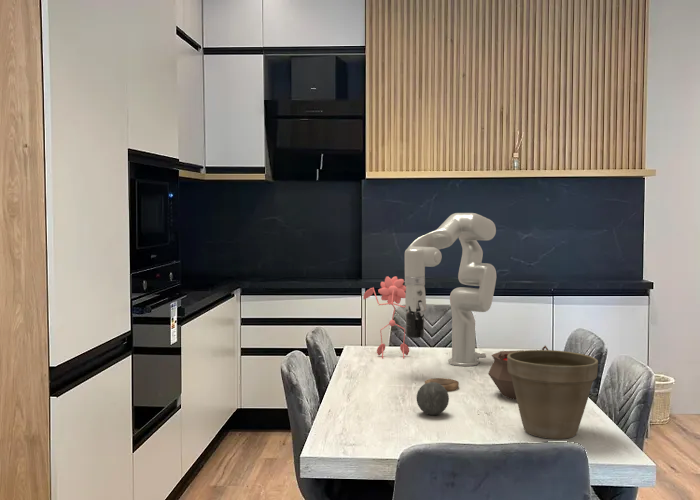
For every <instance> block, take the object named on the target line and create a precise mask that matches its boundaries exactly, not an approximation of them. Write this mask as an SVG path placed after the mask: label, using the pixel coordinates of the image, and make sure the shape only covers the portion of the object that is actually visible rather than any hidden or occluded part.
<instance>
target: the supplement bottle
mask: <svg viewBox="0 0 700 500" xmlns="http://www.w3.org/2000/svg"><path fill="white" fill-rule="evenodd" d="M408 310H409V312H407V311H406V314H405V337H406V338H409V339H411V338H412V339H419V338H421V339H422V338H423V337H424V336H425V315H424V316H423V330H415V313H414V312H412V311H411V309H410V306H409V308H408ZM417 311H420V310H417ZM417 316H418V313H417Z"/></svg>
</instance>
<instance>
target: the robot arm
mask: <svg viewBox="0 0 700 500" xmlns="http://www.w3.org/2000/svg"><path fill="white" fill-rule="evenodd" d="M496 233H497V228H496V224H495V222H493V220H491V219H490V218H487V217H485V216H483V215H481V214H478V213H474V212H455V213H452V214H450V215H449V216H448V217H447V218H446V219H445V220H444V221H443V222H442V223H441V224H440V226H439V227H438V228H436V229H435V230H432V231H430V232H428V233H426V234H424V235H421V236H419V237H417V238H416V239H415V240H414V241H412V243H411V244H410V245H408V247H407V248H406V249H404V250H405V251H404V286H405V287H406V291H405V293H406V295H405V298H404V301H405V303H404V304H405V305H406V307H405V309H406V313H407V312H409V310H408V308H409V306H410V309H411V311H412V312H414V313H415V330H423V316H424V317H425V313H426V311H427V298H426V288H425V285H426V277H425V274H426V267H431V268H433V267H436V266H438V265H439V264H440V263H441V261H442V255H443V254H442V252H441V251H440V250H443V249H446V248H449V247H451V246H453V244H454V243H455V242H456V241H457V240H459V242H460V244H461V245H460V246H461V248H462V249H461V250H462V253H461V259H460V265H459V269H458V274H457V277H458V281H459V283H460V284H462V285H466V287H459V286H458V287H456V288H454V289H452V291H451V292H450V295H449V303H450V309H451V358H449V359H448V360H447V363H448V364H450V365H453V366H459V367H470V366H477V365H479V363H480V360H479V359H485V358H487V354H486V353H480V352H476V319H475V316H474V315H473V313H472V312H474V313H475V312H476V313H477V312H478V313H486V312H488V311H489V310H490V309H491V308H492V303H493V299H494V293H495V288H496V283H497V271H496V268H495V266H494V265H493V264H492V263H486V262H485V263H484V262H482V261H483V254H484V251H483V249H482V246H481V245H480V244H479V242H478V241H491V240H493V239H494V237H495V236H496ZM467 286H472V287H467ZM473 286H475V288H473ZM476 287H479V288H476ZM405 305H404V306H405ZM417 310H420V311H417ZM417 313H418V316H417Z"/></svg>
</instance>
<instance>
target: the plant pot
mask: <svg viewBox="0 0 700 500" xmlns="http://www.w3.org/2000/svg"><path fill="white" fill-rule="evenodd" d="M516 351H517V352H512V353H509V354H508V355H507V366H508V373H509V374H511V377H512V382H513V386H514V390H515V395H516V399H517V400H516V403H517V406H518V411H519V414H520V415H519V416H520V419H521V423H522V427H523V429H524V431H525V432H526V433H527V434H529V435H531V436H535V437H538V438H543V439H551V440H552V439H553V440H564V439H565V440H566V439H571V438H573V437H575V436H577V433H578V431H579V427H580V425H581V421H582V419H583V416H584V413H585V410H586V406H587V404H588V399H589V396H590V393H591V389H592V387H593V383H594V381H595V380H596V379H597V377H598V368H599V360H598V359H597V358H595V357H593V356H590V355H587V354H584V353H578V352H573V351H564V350H554V349H551V350H550V349H548V350H546V349H544V350H542V349H529V350H526V349H525V351H518V350H516Z"/></svg>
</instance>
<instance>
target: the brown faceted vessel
mask: <svg viewBox="0 0 700 500" xmlns="http://www.w3.org/2000/svg"><path fill="white" fill-rule="evenodd" d="M525 350H526V349H525ZM525 350H524V349H522V350H500V351H498V352H496V353H494V354H491V357H492V358H493V359H494V360H493V362H492V364H491V366H490V369H489V370H488V373H487V374H488V376H489V377H490V379H491V380H492V381H493V383H494V385H495V386H496V388H497V389H498V391H499V392H500V394H501V395H502V396H503V397H505V398H506V399H509V400H514V401H515V400H516V401H517V399H516V395H515V390H514V386H513V382H512V377H511V374H509V373H508V366H507V355H508V354H509V353H512V352H517V351H525ZM541 350H549V349H548V347H547V345H544V346H543V347H542V348H541Z"/></svg>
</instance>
